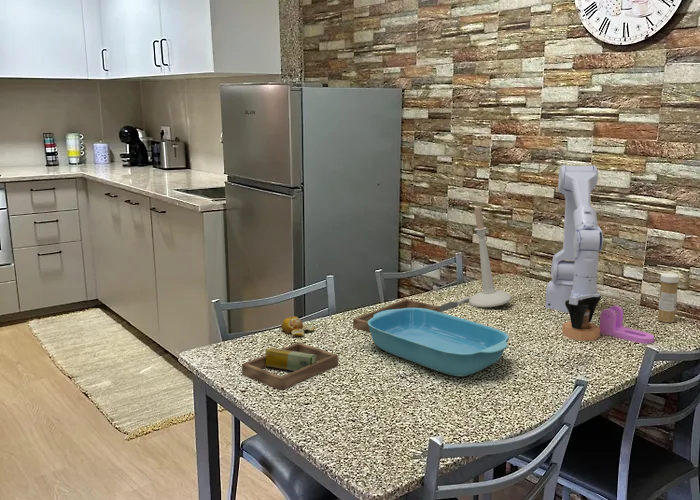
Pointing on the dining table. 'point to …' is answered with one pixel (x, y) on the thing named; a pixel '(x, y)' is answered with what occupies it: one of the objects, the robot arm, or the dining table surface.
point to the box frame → (282, 382)
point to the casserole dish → (437, 340)
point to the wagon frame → (363, 320)
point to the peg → (585, 320)
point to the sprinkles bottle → (668, 297)
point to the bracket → (621, 326)
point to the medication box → (288, 359)
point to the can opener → (453, 304)
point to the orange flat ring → (581, 332)
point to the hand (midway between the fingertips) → (581, 324)
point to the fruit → (294, 326)
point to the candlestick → (486, 273)
